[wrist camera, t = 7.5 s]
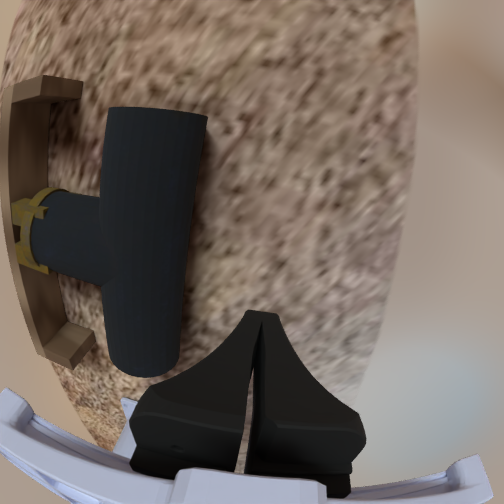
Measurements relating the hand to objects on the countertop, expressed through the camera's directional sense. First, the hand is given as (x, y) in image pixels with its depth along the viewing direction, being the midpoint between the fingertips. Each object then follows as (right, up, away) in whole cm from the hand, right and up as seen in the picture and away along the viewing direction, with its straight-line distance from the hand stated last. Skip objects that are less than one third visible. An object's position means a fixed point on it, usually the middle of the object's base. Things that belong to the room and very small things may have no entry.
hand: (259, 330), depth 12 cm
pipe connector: (-9, +5, +5) cm, 12 cm away
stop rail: (-15, +5, +5) cm, 16 cm away
